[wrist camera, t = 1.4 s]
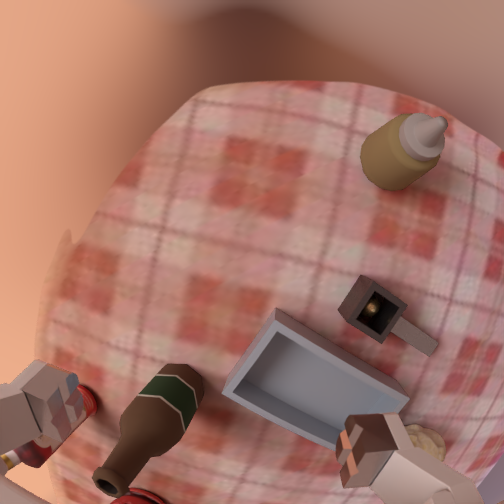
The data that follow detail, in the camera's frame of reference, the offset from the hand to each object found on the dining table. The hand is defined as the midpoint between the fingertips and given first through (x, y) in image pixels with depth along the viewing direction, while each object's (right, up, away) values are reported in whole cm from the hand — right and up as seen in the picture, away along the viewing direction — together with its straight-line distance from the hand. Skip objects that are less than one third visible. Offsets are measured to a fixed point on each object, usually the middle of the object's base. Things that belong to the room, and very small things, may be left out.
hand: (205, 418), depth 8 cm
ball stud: (+17, -2, +32) cm, 36 cm away
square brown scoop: (+21, -5, +31) cm, 38 cm away
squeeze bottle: (+19, +16, +31) cm, 40 cm away
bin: (+10, -14, +33) cm, 37 cm away
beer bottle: (-9, -15, +35) cm, 39 cm away
